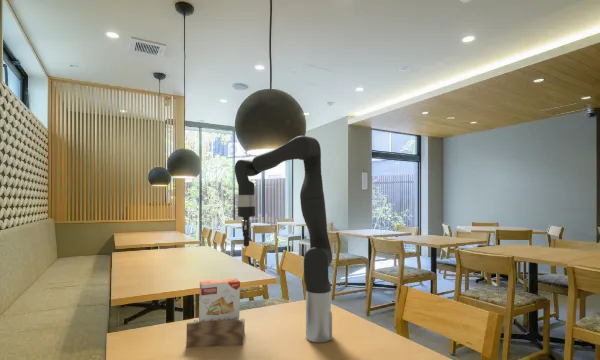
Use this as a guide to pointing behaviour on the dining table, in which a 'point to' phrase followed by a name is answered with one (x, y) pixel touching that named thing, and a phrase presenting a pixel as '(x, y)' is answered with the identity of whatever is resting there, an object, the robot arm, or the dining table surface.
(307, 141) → the robot arm
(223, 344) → the walnut rack
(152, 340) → the dining table surface
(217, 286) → the cracker box
